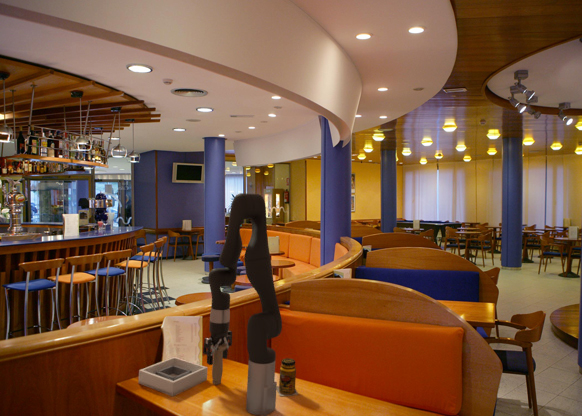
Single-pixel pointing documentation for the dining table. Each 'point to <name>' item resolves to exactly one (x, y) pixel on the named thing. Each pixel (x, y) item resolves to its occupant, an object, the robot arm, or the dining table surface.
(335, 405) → the dining table surface
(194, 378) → the box
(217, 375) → the handle
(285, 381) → the condiment
